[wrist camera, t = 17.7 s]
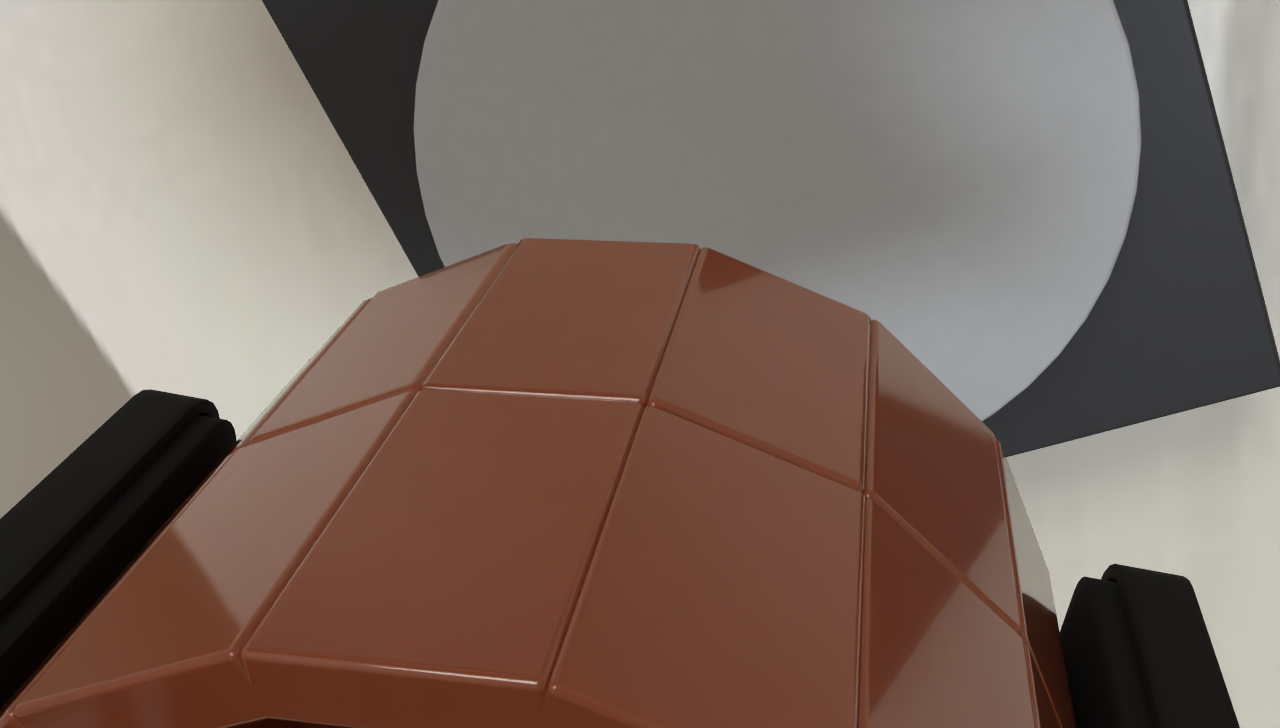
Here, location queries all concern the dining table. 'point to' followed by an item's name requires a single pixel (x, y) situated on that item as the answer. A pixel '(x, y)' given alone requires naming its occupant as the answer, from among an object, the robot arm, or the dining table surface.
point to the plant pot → (585, 525)
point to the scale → (841, 171)
